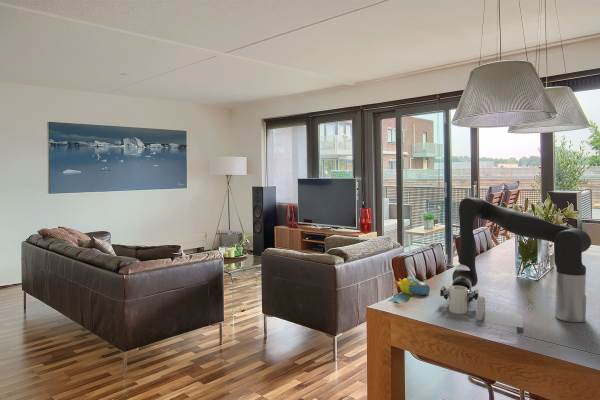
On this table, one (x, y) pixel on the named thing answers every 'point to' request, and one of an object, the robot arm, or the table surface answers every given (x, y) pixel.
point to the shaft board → (485, 316)
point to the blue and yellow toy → (409, 289)
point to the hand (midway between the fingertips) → (457, 298)
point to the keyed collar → (458, 299)
